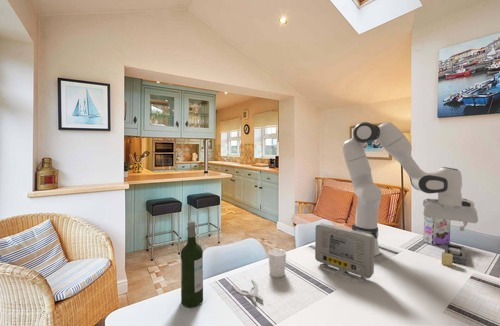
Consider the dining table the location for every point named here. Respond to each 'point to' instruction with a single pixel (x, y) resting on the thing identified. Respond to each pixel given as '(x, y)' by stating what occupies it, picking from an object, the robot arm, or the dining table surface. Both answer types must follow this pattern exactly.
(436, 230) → the candy box
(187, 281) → the wine bottle
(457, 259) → the grey cube holder tray
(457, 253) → the cube in holder slot
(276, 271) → the white cup
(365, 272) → the network device
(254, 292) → the pliers
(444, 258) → the tan wooden toy cube
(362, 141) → the robot arm
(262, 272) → the dining table surface
